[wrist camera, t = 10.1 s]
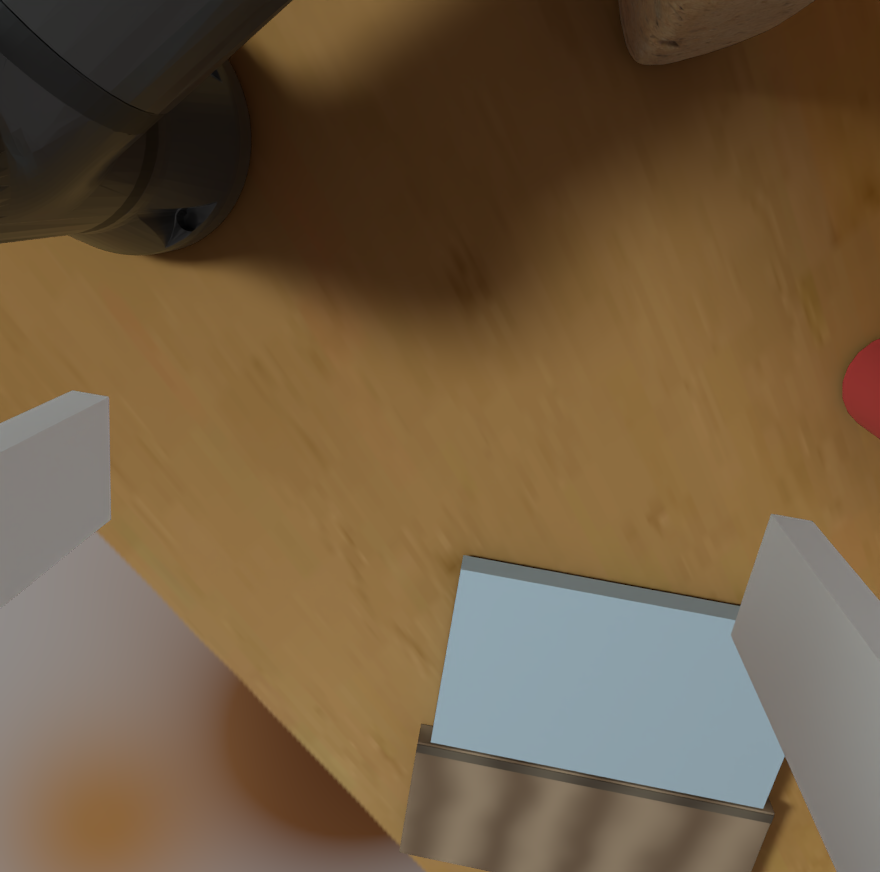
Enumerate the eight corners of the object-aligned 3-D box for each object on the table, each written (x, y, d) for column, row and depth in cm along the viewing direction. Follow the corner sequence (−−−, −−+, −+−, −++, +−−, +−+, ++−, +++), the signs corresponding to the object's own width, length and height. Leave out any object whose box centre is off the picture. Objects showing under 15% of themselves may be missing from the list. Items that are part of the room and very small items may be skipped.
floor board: (403, 832, 63) (399, 853, 61) (421, 724, 59) (417, 742, 57) (724, 899, 62) (731, 922, 60) (766, 792, 58) (774, 814, 56)
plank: (433, 724, 59) (430, 742, 57) (463, 555, 53) (461, 569, 51) (755, 787, 57) (762, 808, 56) (822, 621, 52) (833, 638, 50)
